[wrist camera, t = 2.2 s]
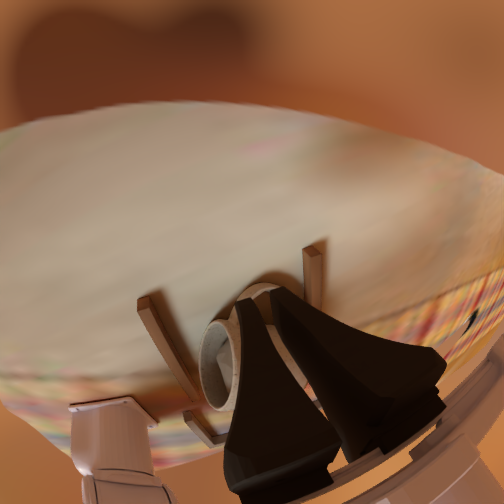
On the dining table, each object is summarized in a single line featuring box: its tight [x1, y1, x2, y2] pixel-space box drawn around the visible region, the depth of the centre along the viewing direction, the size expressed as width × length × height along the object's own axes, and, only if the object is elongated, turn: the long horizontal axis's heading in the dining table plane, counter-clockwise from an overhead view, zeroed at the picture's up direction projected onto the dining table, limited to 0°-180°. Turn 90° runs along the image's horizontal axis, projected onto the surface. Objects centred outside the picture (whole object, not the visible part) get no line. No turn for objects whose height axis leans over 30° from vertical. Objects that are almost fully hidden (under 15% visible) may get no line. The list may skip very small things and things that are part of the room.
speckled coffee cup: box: [199, 283, 308, 411], centre depth 22 cm, size 11×8×8 cm
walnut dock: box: [137, 246, 322, 402], centre depth 24 cm, size 15×14×2 cm
